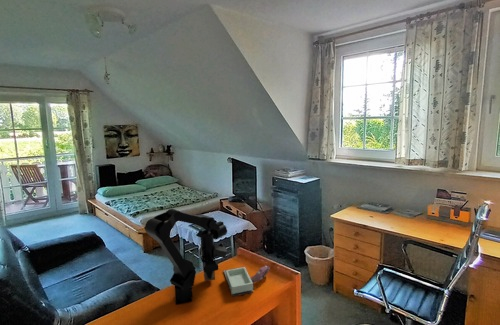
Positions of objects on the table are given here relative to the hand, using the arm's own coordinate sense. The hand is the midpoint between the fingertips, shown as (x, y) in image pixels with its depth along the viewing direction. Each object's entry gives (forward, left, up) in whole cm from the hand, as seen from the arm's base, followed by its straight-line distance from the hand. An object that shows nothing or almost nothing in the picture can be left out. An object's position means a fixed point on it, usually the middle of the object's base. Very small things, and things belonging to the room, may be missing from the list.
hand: (209, 275), depth 132 cm
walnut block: (0, 0, -1) cm, 1 cm away
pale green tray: (+12, -7, -3) cm, 14 cm away
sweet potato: (+23, -5, -3) cm, 23 cm away
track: (+12, -4, -3) cm, 13 cm away
